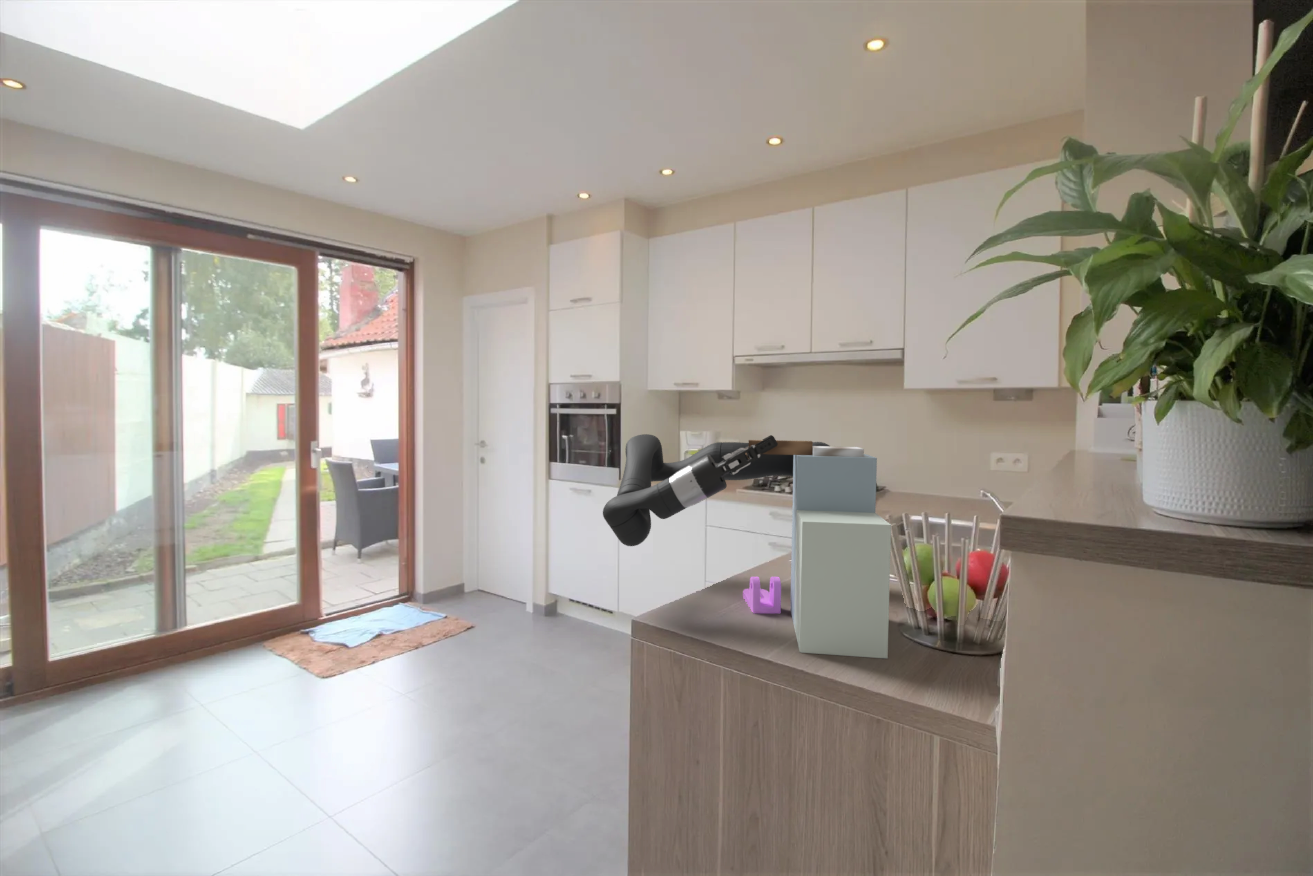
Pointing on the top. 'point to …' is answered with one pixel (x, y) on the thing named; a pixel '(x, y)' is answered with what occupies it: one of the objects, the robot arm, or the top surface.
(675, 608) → the top surface
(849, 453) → the turner
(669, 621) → the top surface
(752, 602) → the bracket
